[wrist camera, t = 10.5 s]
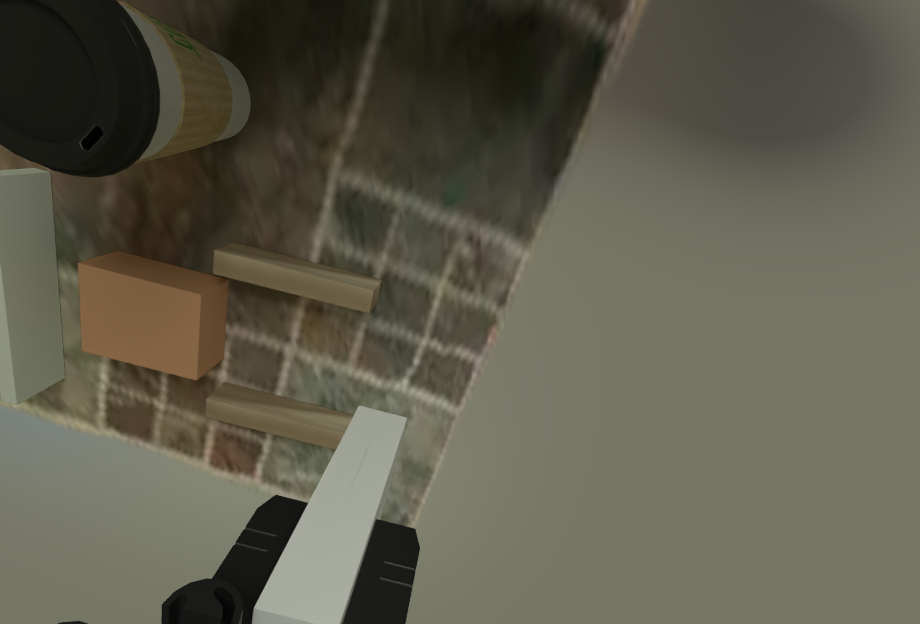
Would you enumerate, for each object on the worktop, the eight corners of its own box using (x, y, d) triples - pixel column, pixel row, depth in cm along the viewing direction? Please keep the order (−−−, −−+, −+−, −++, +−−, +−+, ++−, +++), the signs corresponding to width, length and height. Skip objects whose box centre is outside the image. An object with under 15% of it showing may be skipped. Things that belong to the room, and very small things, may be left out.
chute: (233, 242, 40) (214, 250, 38) (382, 279, 41) (373, 290, 38) (223, 399, 46) (205, 417, 43) (353, 432, 46) (344, 451, 44)
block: (120, 249, 42) (77, 262, 38) (230, 278, 42) (201, 294, 38) (121, 330, 45) (82, 351, 41) (224, 357, 45) (196, 380, 41)
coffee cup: (207, -9, 34) (3, -109, 20) (300, 110, 36) (175, 95, 22) (123, 83, 37) (-109, 51, 23) (215, 189, 39) (55, 219, 25)
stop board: (33, 167, 40) (-29, 172, 35) (50, 172, 40) (-10, 177, 35) (51, 374, 47) (1, 400, 42) (65, 377, 47) (16, 404, 42)
